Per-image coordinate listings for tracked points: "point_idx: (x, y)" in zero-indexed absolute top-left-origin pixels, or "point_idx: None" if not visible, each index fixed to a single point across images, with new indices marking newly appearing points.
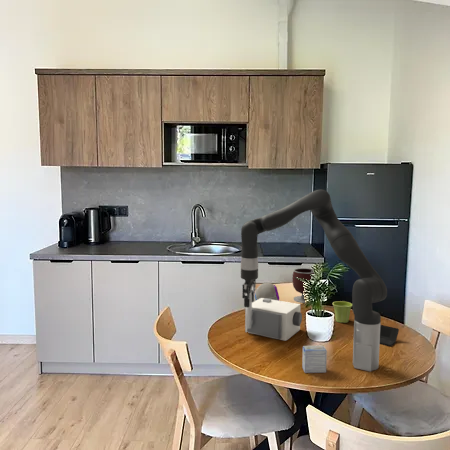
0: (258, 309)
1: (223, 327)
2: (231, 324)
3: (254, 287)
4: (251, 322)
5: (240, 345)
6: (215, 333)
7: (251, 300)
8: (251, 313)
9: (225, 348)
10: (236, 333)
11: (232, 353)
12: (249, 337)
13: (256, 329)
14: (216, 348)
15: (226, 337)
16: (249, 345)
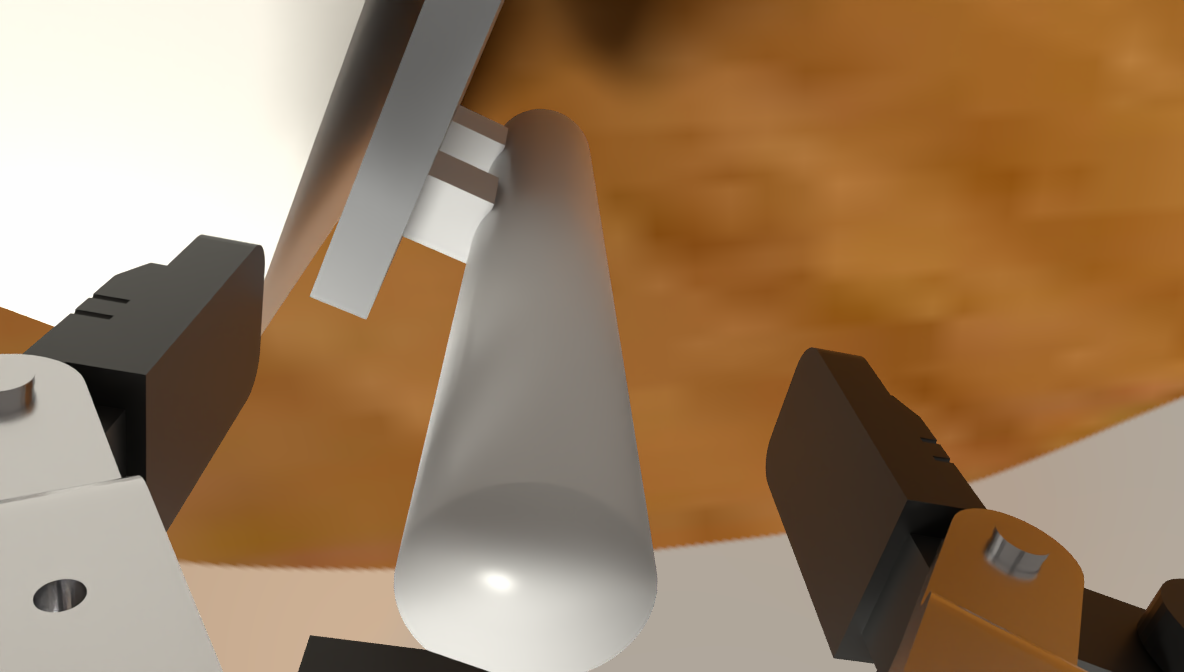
0: (360, 18)
1: (248, 476)
2: None
3: (59, 615)
4: (556, 136)
5: (882, 220)
6: None
7: (580, 357)
8: (561, 195)
9: (963, 386)
10: (442, 301)
11: (1125, 298)
12: (578, 108)
13: (500, 9)
14: None
15: None
16: (889, 97)
